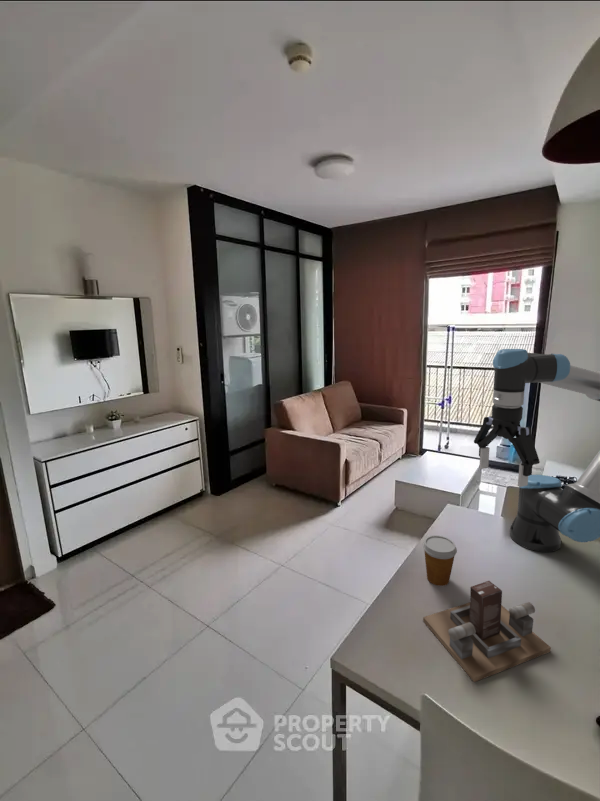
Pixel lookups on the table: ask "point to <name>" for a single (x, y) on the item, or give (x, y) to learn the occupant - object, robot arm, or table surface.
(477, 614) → the box
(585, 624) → the table surface
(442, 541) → the disposable coffee cup
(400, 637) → the table surface
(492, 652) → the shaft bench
